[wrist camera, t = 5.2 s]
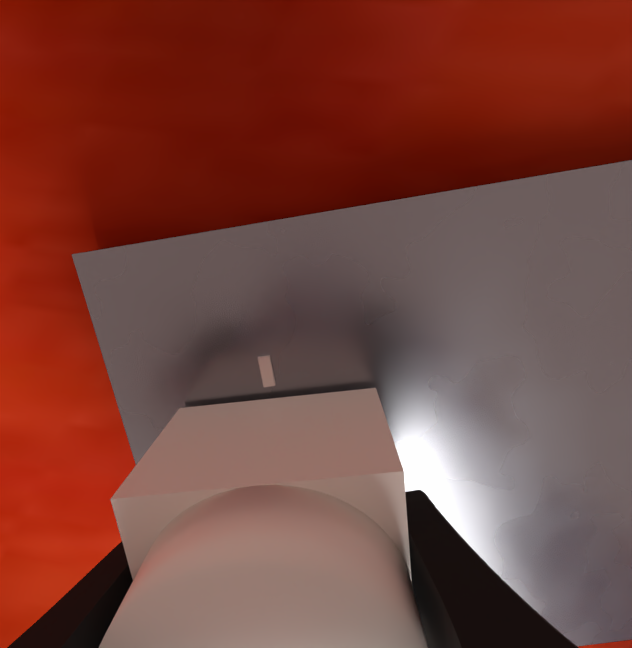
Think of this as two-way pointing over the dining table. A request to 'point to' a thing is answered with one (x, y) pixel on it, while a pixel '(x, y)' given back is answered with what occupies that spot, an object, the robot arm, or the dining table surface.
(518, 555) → the panel
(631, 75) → the dining table surface
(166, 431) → the knob
